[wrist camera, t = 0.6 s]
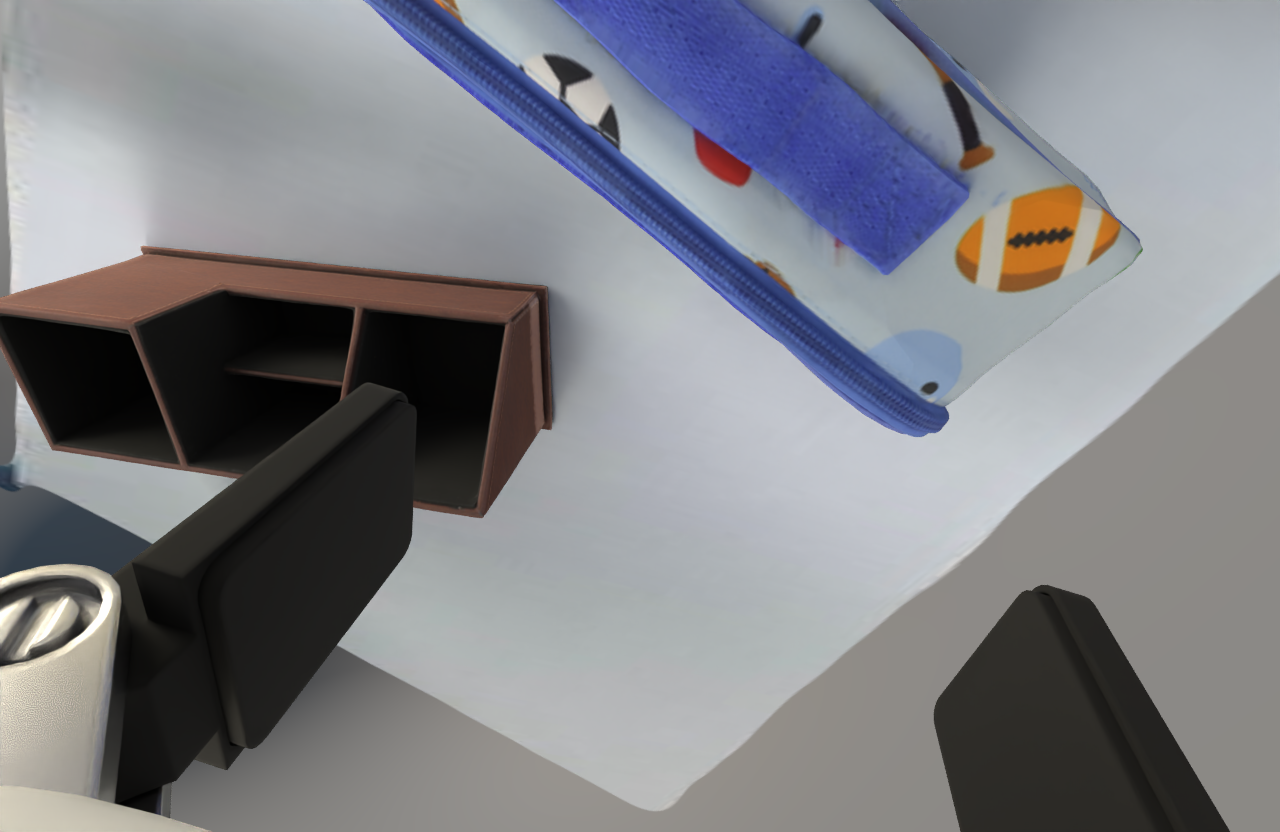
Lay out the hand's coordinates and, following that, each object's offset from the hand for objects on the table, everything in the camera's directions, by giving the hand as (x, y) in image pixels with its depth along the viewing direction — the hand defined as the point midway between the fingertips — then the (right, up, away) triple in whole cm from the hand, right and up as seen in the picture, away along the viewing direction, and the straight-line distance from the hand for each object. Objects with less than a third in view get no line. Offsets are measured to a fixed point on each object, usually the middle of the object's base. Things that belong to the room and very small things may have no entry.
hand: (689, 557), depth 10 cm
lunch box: (+3, +20, +22) cm, 30 cm away
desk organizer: (-21, +8, +34) cm, 41 cm away
